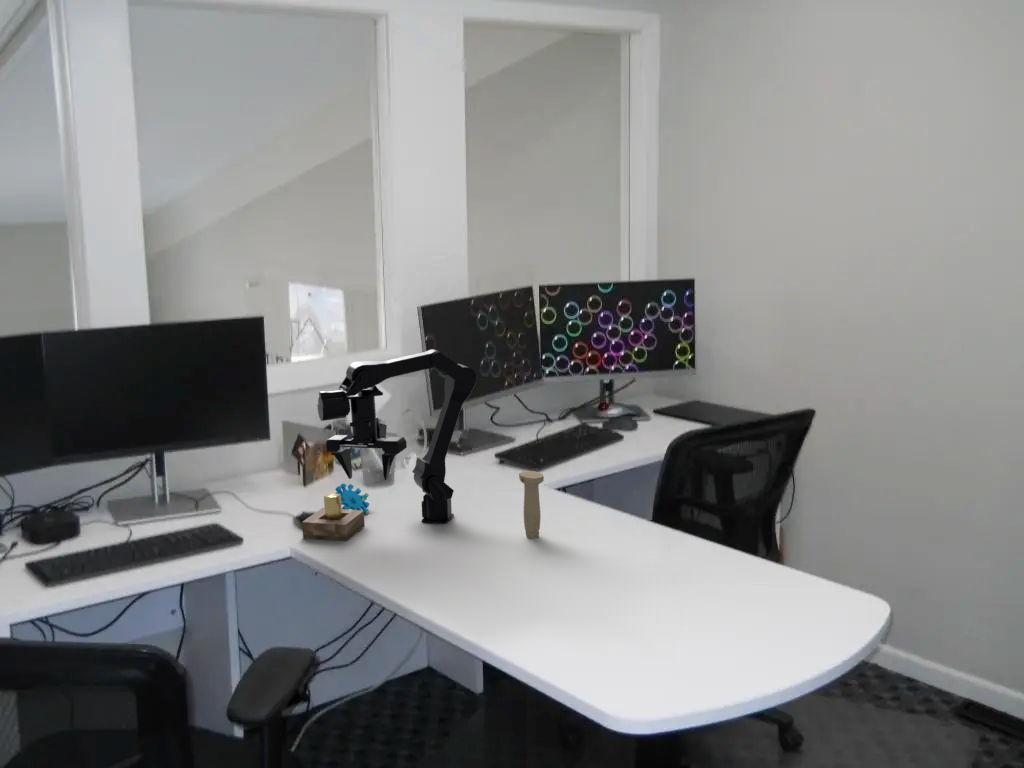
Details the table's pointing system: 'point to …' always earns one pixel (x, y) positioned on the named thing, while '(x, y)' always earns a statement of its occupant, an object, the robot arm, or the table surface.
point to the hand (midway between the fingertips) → (368, 479)
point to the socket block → (333, 525)
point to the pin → (333, 507)
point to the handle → (531, 502)
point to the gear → (352, 498)
